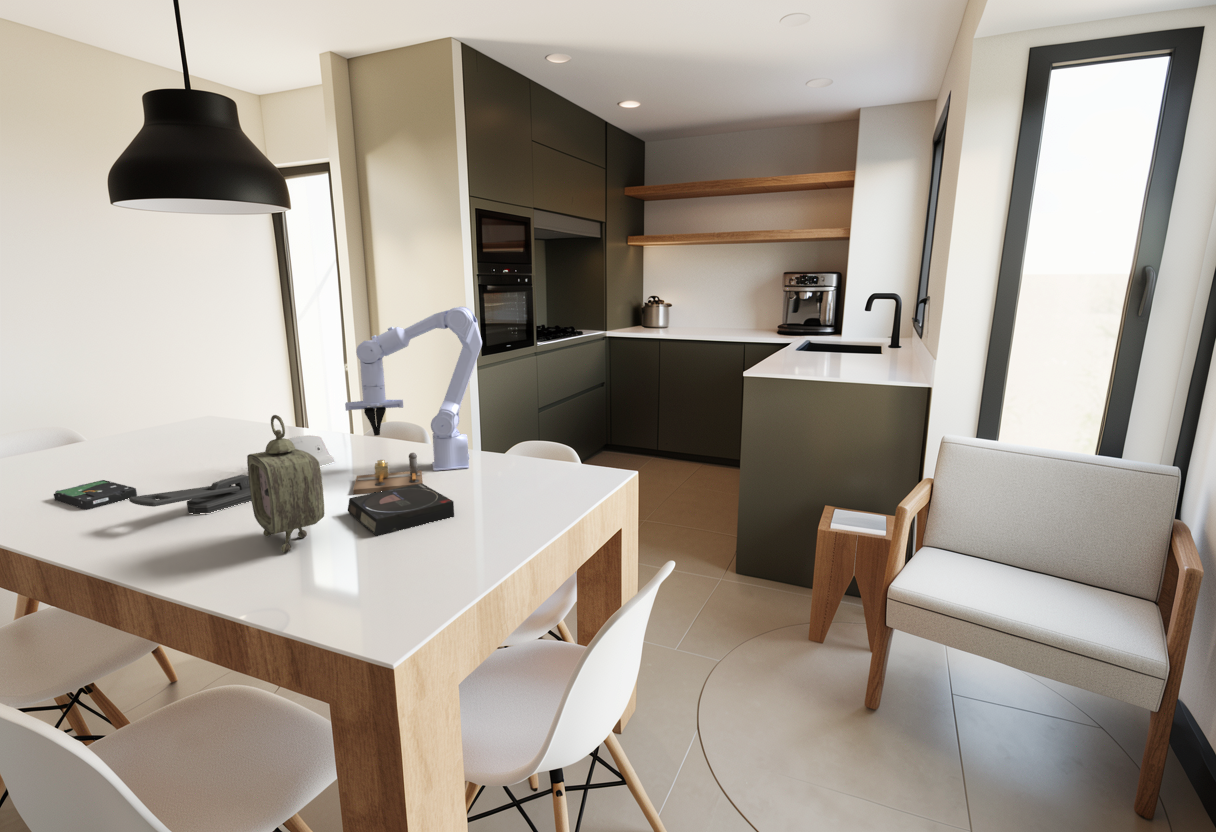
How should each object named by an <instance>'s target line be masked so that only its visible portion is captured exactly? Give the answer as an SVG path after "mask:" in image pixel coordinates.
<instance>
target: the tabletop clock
mask: <svg viewBox="0 0 1216 832" xmlns="http://www.w3.org/2000/svg"><path fill="white" fill-rule="evenodd" d="M275 419H276V420H277V421H278V422H279V424H280V427H281V429H282V430H281V429H276V428H275V422H274V421H275ZM270 426H271V430H272V434H273V435H274V436H275V439H272V440H269V442H268V443H267V445H266V447H265V449H264V451H262V452H261V451H260V452H256V453H250V454H248V455H246V456H247V457H246V458H247V460H246V461H247V463H246V464H247V475H248V477H249V486H250V493H251V500H252V501H251V505H252V506H251V507H252V510H253V515H254V518H255V520H256V522H257V523H258V525H259V526H260V527H261V528H262V529H263V536H265V537H271V536H274V535H277V534H281V533H285V538H284V539H285V541H284V543H283V545H282V544H281V547H280V551H281V552H282V553H284V554H286V553H288V552H290V551H291V548H292V547H291V545H290V544H289V541H290V538H291V535H292V533H293V531H294V530H297V529H298V533H297V536H298V537H299V538H300V539H305V538H306V536H308V532H307V531H306V530H305V529H303V528H304V527H305V528H307V527H310V526H314V525H317V524H318V522H319V521H320V520H322V519H323V518H324V517H325V499H324V487H323V478H322V471H321V467H320V465H319V462H318V460H317V459H316V458H315V457H314V456H312V455H311V454H309V453H307V452H305V451H302V450H299V449H295V446H294V444H293V443H292V441H290V440H289V438H285V434H286V428H285V423H284V420H283V419H282V417H280V415H277V414H273V415H271V417H270Z"/></svg>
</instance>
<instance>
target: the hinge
mask: <svg viewBox="0 0 1216 832" xmlns="http://www.w3.org/2000/svg"><path fill="white" fill-rule="evenodd" d="M288 439H289V440H290V441H292V443H293V444H294V446H295V449H299V450H302V451H305V452H307V453H309V454H311V455H312V456H314V457H315V458H316V459H317V460H318V462H319V465H320V466H322V465H326V464H329V463H332V462H335V463H336V461H335V458H334V456H332V455H331V453H329V450H328V448H327V447H326V444H325V442H324V440H323V438H322V437H321V436H319V435H310V434H309V435H297V436H294V437H293V436H292V437H290V438H288ZM329 465H330V464H329ZM326 466H327V465H326Z"/></svg>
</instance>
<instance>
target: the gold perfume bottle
mask: <svg viewBox="0 0 1216 832" xmlns="http://www.w3.org/2000/svg"><path fill="white" fill-rule="evenodd" d="M389 473H390V472H389V462H386V461H385V459H379V460H377V461H376V462H375V464H374V474H375V478H380V479H379V482H383V478H385V477H388V475H389Z"/></svg>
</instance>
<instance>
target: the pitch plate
mask: <svg viewBox="0 0 1216 832" xmlns="http://www.w3.org/2000/svg"><path fill="white" fill-rule="evenodd" d="M417 455H418V454H416V453H415V452H410V453H409V454H408V460H409V471H397V472H389V475H388V477H385V478H383V482H379V479H380V478H375V473H373V474H371V473H370V474H362V475H361V474H360V475H356V478H355V482H354V485H353V488H352V494H353V495H366V494H372V493H374V492H376V493H377V492H381V491H386V490H391V489H396V488H401V487H406V486H411V485H416V484H420V483H422V484H424V483H423V470H421V469H420V470H418V461H417V459H418V456H417Z"/></svg>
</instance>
